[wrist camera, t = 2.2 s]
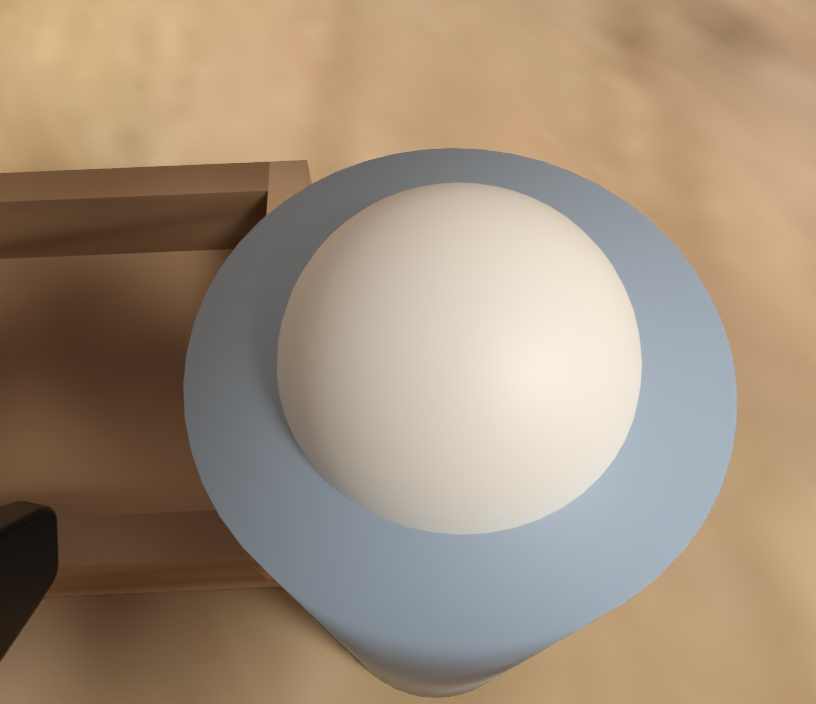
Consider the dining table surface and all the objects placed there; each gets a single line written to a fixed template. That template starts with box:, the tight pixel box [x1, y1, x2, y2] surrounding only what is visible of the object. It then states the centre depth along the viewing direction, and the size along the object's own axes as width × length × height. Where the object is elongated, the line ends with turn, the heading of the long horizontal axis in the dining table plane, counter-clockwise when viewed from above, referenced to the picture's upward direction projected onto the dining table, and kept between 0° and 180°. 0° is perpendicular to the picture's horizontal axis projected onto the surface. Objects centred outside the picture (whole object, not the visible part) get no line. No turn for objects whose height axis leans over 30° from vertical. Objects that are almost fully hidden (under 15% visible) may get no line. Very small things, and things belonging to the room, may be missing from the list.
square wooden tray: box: [0, 160, 312, 597], centre depth 18 cm, size 10×10×4 cm
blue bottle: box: [183, 148, 737, 698], centre depth 11 cm, size 5×5×14 cm
